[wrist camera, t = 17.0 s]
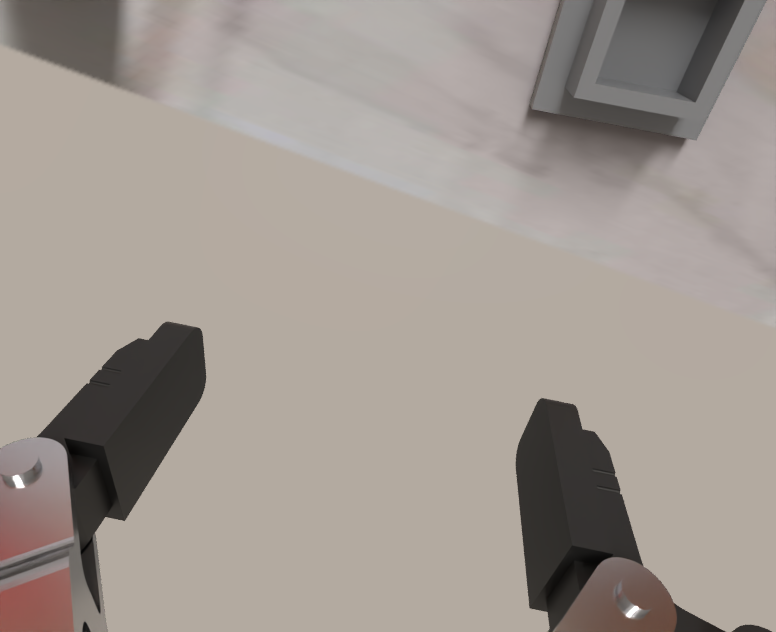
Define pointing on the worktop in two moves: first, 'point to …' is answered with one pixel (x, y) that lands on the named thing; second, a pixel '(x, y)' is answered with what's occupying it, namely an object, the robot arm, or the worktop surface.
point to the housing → (643, 61)
